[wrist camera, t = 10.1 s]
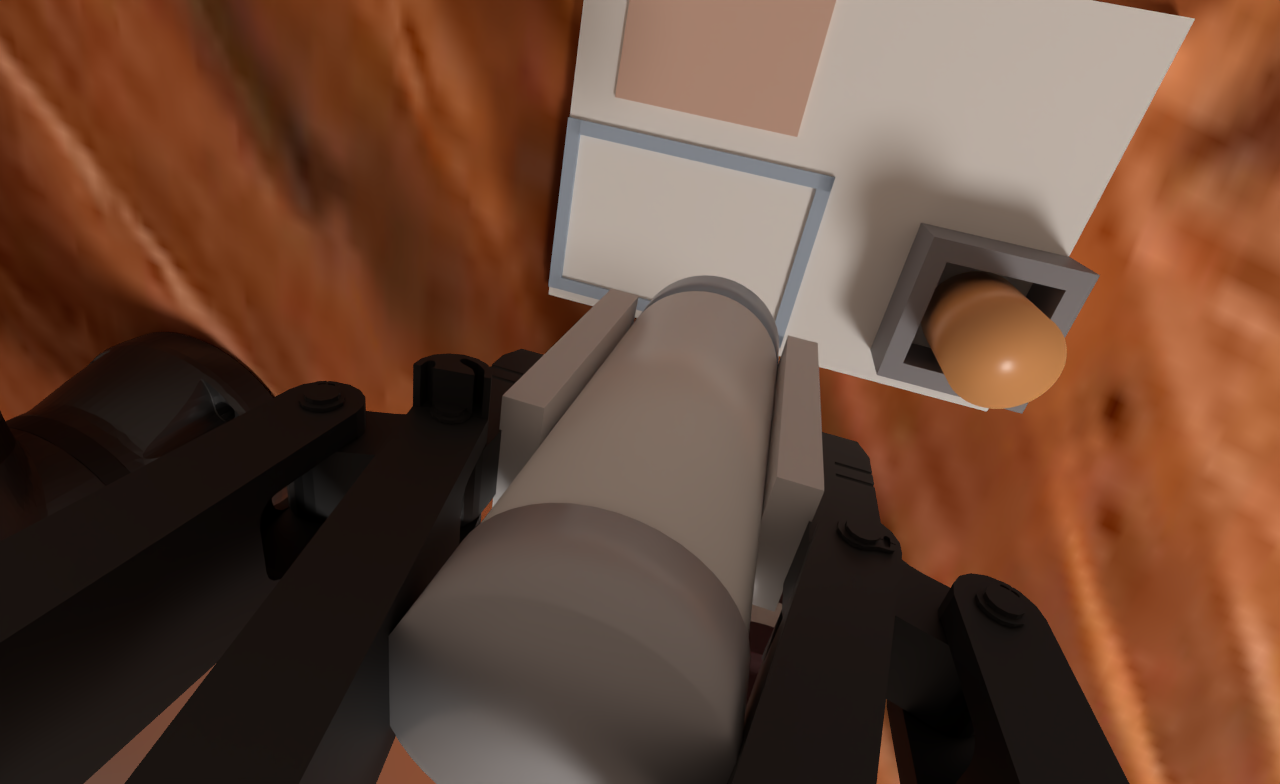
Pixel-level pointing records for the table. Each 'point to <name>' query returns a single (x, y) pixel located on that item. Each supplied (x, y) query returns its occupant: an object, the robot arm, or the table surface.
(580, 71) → the sheet board
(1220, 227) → the table surface
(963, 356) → the button
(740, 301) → the cylinder
